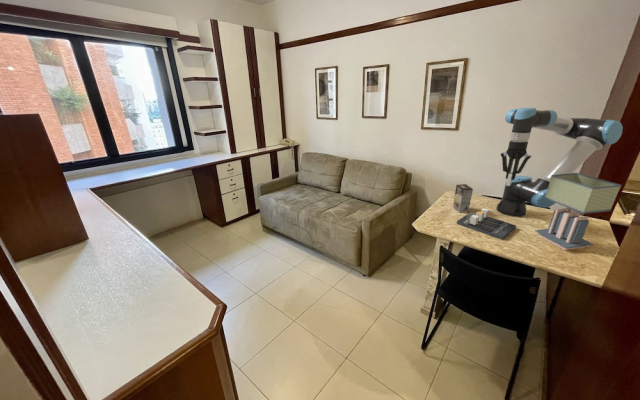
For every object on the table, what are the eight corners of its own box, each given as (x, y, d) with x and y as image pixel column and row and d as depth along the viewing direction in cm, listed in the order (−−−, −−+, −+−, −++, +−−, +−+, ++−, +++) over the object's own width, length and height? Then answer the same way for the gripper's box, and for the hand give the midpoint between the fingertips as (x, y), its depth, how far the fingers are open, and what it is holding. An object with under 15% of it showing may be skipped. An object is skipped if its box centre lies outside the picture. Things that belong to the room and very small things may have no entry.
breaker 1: (472, 221, 146) (473, 214, 145) (477, 223, 144) (479, 216, 142) (469, 223, 145) (470, 216, 143) (475, 225, 143) (476, 218, 141)
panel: (470, 214, 160) (471, 211, 159) (515, 228, 142) (516, 225, 141) (456, 223, 150) (457, 220, 149) (502, 240, 132) (503, 236, 131)
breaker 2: (482, 214, 153) (483, 208, 152) (487, 216, 151) (489, 209, 150) (479, 216, 152) (481, 209, 150) (485, 218, 150) (486, 211, 148)
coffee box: (452, 206, 172) (455, 184, 166) (461, 206, 172) (465, 183, 165) (458, 212, 163) (463, 189, 157) (469, 212, 163) (473, 188, 157)
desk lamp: (532, 233, 137) (551, 175, 124) (556, 230, 138) (577, 172, 125) (567, 252, 120) (592, 187, 107) (594, 249, 121) (622, 184, 108)
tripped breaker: (477, 218, 150) (478, 211, 148) (482, 219, 148) (484, 212, 146) (475, 219, 148) (476, 212, 146) (480, 221, 146) (482, 214, 144)
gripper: (501, 140, 130) (492, 184, 140) (532, 143, 121) (520, 189, 130) (506, 138, 134) (497, 180, 144) (537, 140, 125) (525, 185, 134)
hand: (508, 184), depth 137 cm, fingers closed
